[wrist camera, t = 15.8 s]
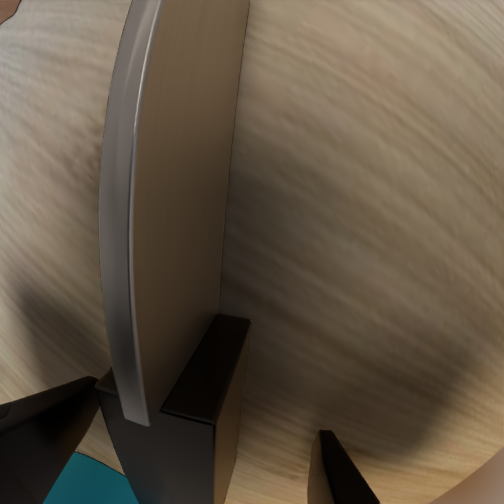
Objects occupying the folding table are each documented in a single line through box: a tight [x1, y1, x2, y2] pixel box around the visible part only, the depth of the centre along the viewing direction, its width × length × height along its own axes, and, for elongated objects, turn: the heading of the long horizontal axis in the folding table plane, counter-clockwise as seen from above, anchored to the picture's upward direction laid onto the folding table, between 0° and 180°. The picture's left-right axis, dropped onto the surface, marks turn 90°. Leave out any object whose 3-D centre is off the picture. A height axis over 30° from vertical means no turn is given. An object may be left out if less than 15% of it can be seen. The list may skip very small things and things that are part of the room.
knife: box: [95, 0, 252, 504], centre depth 6 cm, size 16×2×4 cm, turn 174°
